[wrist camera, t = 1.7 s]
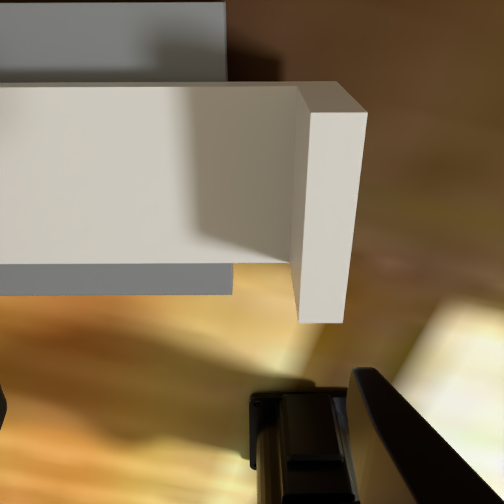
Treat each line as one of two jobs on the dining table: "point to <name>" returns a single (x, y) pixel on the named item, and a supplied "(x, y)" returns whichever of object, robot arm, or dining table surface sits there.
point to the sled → (185, 177)
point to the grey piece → (114, 70)
